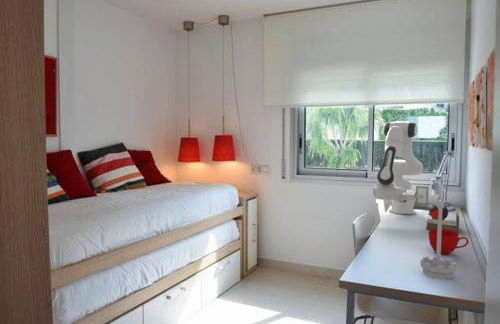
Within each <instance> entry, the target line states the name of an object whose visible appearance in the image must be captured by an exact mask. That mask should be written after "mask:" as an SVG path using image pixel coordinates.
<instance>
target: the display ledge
mask: <svg viewBox="0 0 500 324" xmlns="http://www.w3.org/2000/svg"><path fill="white" fill-rule="evenodd" d="M459 225H460V214H459V211H456V212H455V220H446V219H444V220H442V230H449V231H454V232H457V233H458V234H460V233H459V232H460V231H459V230H460V229H459V228H460V226H459ZM437 228H438V220H437V219H432V218H427V219H426V230H427V231H429V230H433V229H437Z"/></svg>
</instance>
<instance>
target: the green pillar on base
mask: <svg viewBox="0 0 500 324" xmlns="http://www.w3.org/2000/svg"><path fill="white" fill-rule="evenodd" d="M429 189H430V187H429V185H425V184H423V185H422V184H416V185H415V191H416V195H423V198H415V200H414V202H415V203H414V206H413V209H414V210H419V211H428V212H429V209H430V207H431V206H430V205H429V191H430V190H429Z"/></svg>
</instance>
